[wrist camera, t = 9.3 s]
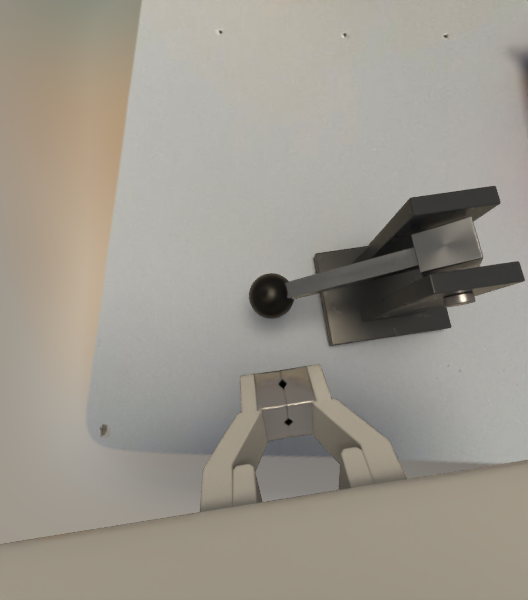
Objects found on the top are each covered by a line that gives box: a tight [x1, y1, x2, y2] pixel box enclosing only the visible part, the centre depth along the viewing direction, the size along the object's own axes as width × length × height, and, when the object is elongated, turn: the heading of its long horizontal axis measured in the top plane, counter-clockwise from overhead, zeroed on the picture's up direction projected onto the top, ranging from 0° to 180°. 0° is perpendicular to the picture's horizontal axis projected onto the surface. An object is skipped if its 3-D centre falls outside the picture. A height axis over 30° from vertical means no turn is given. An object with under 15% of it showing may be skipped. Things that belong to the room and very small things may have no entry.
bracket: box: [314, 186, 525, 346], centre depth 22 cm, size 10×8×13 cm
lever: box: [249, 217, 483, 318], centre depth 20 cm, size 14×3×3 cm, turn 98°
